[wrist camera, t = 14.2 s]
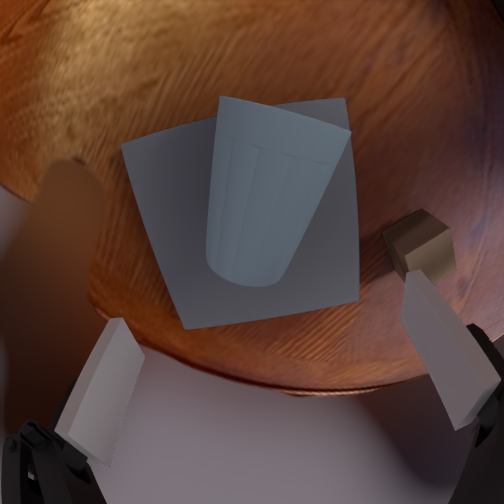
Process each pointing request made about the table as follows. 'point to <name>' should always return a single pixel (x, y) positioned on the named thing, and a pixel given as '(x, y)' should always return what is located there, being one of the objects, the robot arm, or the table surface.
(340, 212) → the plinth
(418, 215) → the walnut block
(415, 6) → the table surface
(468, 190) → the table surface
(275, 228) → the cup
